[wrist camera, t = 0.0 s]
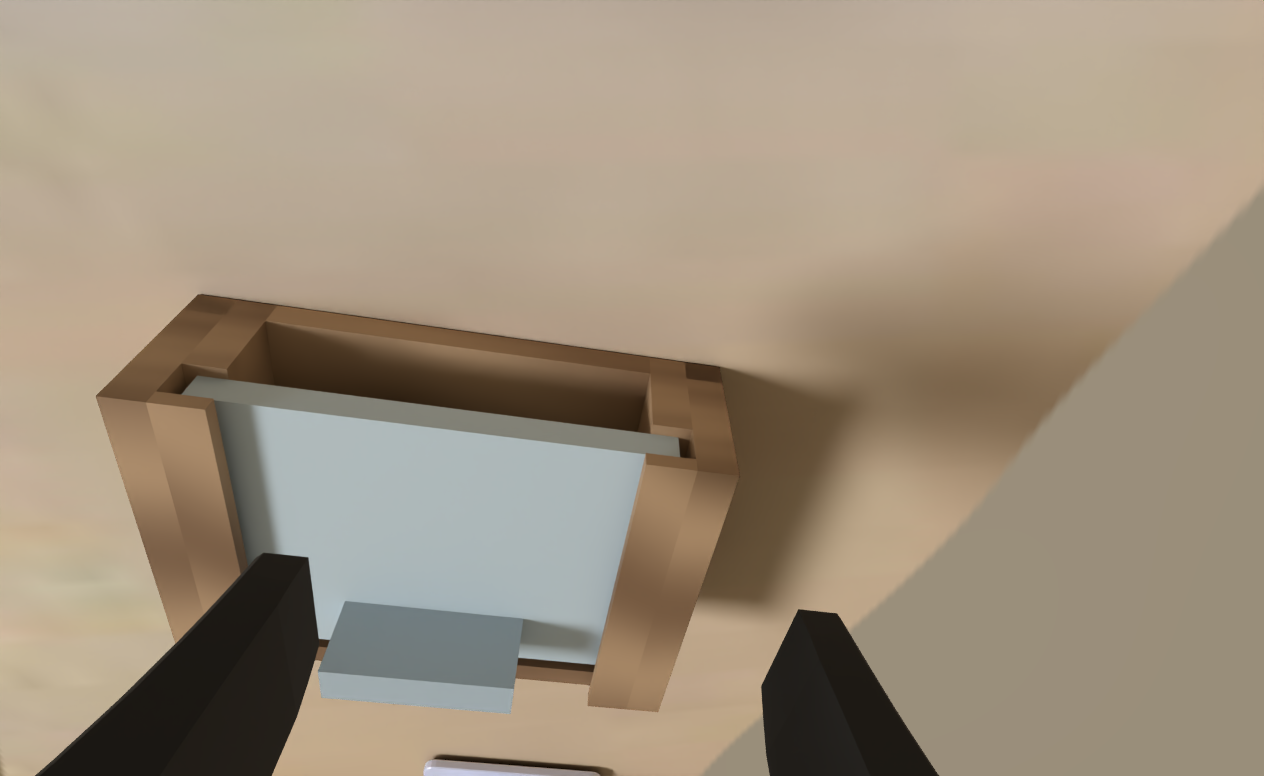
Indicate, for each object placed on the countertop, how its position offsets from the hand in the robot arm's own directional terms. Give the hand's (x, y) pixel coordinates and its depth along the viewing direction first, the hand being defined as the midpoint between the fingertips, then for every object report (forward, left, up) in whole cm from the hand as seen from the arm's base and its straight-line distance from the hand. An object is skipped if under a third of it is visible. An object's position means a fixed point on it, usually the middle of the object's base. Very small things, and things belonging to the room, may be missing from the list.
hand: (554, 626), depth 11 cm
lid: (-6, +3, -7) cm, 10 cm away
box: (-6, +3, -10) cm, 12 cm away
